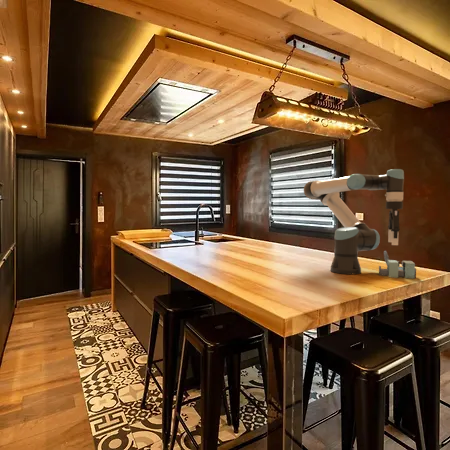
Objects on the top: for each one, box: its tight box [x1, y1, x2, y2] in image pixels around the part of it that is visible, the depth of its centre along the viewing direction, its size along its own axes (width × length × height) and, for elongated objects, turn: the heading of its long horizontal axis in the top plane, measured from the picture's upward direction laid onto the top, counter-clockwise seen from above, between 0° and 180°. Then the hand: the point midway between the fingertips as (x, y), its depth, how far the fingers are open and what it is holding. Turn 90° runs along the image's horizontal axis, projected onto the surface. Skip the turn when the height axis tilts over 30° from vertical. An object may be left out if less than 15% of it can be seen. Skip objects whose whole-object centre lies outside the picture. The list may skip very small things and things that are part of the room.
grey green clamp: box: [378, 260, 417, 280], centre depth 160 cm, size 16×8×7 cm, turn 69°
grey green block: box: [386, 259, 400, 279], centre depth 160 cm, size 5×8×7 cm, turn 159°
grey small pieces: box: [383, 250, 403, 270], centre depth 172 cm, size 10×11×15 cm
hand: (392, 243), depth 160 cm, fingers open, 13 cm apart
